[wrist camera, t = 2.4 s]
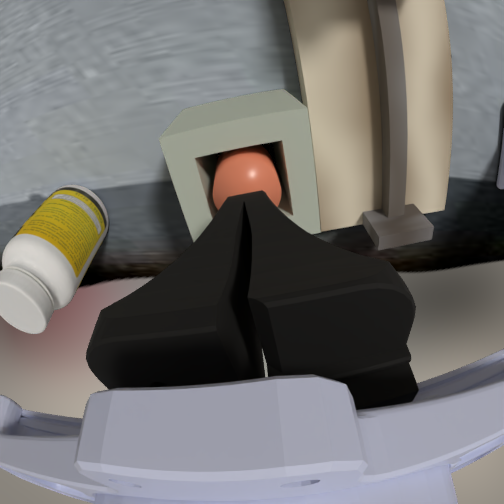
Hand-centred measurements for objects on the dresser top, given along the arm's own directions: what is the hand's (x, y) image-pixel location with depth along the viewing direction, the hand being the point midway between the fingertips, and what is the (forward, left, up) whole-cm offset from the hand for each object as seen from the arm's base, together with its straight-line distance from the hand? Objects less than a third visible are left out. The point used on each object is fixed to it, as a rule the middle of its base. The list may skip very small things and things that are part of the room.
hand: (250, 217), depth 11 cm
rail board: (-9, -6, -9) cm, 14 cm away
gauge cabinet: (0, 0, -9) cm, 9 cm away
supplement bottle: (+13, +2, -9) cm, 16 cm away
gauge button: (0, 0, -5) cm, 5 cm away
